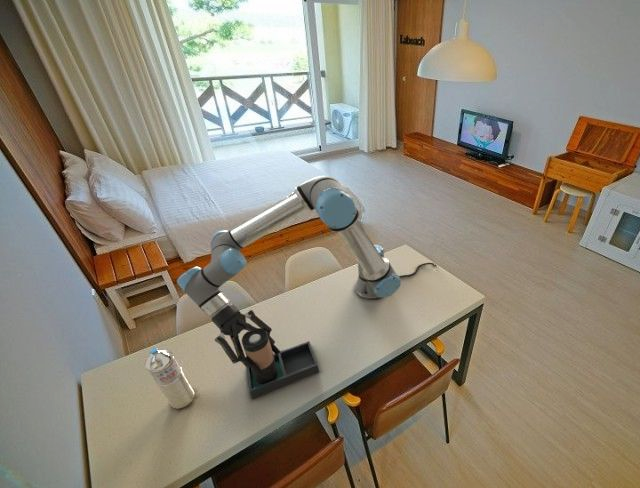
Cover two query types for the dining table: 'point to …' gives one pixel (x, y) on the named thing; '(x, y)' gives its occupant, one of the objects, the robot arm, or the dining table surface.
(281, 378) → the divided organizer tray
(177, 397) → the water bottle
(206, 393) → the dining table surface
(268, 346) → the travel mug
